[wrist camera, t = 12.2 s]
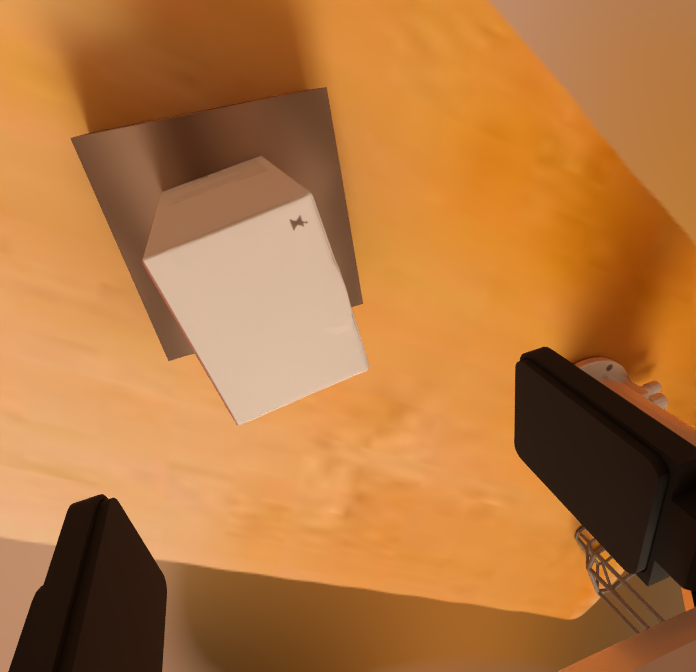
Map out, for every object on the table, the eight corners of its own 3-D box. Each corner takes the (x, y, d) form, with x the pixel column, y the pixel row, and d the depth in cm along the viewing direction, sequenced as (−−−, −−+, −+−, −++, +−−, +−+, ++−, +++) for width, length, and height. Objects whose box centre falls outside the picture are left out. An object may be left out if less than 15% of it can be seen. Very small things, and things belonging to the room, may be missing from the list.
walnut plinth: (307, 90, 30) (326, 87, 26) (343, 280, 37) (362, 303, 33) (89, 133, 28) (70, 138, 23) (171, 329, 35) (168, 360, 30)
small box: (158, 191, 26) (135, 256, 15) (262, 152, 26) (315, 186, 15) (220, 310, 30) (237, 431, 19) (308, 274, 31) (375, 369, 19)
